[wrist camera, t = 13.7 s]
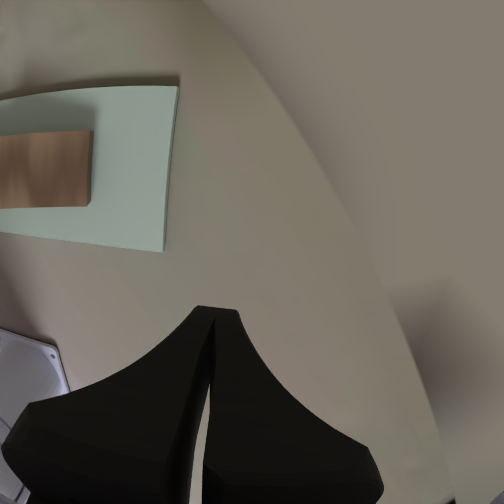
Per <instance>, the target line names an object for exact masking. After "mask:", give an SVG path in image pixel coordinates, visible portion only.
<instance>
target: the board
mask: <svg viewBox="0 0 504 504" xmlns="http://www.w3.org/2000/svg"><path fill="white" fill-rule="evenodd" d="M178 95H179V87H178V86H117V87H98V88H84V89H74V90H64V91H56V92H48V93H41V94H34V95H28V96H22V97H17V98H11V99H6V100H1V101H0V136H9V135H18V134H30V133H43V132H61V131H94V138H93V152H92V172H91V202H90V203H89V204H88V206H87V207H39V208H10V209H0V232H5V233H13V234H20V235H28V236H35V237H43V238H50V239H58V240H66V241H73V242H81V243H89V244H97V245H105V246H113V247H121V248H129V249H137V250H145V251H154V252H162V253H163V251H164V250H165V235H166V215H167V200H168V186H169V174H170V163H171V152H172V143H173V134H174V125H175V117H176V109H177V102H178Z"/></svg>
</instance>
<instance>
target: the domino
mask: <svg viewBox="0 0 504 504" xmlns="http://www.w3.org/2000/svg"><path fill="white" fill-rule="evenodd" d="M93 138H94V131H61V132H43V133H30V134H18V135H9V136H0V209H10V208H39V207H87V206H88V204H89V203H90V202H91V172H92V152H93Z"/></svg>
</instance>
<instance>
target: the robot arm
mask: <svg viewBox="0 0 504 504" xmlns="http://www.w3.org/2000/svg"><path fill="white" fill-rule="evenodd" d="M0 349H1V351H0V504H189V498H190V488H191V478H192V469H193V460H194V451H195V444H196V439H197V434H198V430H199V426H200V421H201V417H202V413H203V409H204V405H205V401H206V396H207V392H208V388H209V384H210V414H209V422H208V430H207V437H206V444H205V452H204V459H203V473H202V504H376V502H377V501H378V500H379V498H380V497H381V496H382V494H383V491H384V485H383V482H382V479H381V476H380V473H379V470H378V468H377V465H376V463H375V461H374V459H373V457H372V455H371V453H370V451H369V449H368V447H366V446H364V445H363V444H361V443H359V442H357V441H355V440H353V439H352V438H350V437H348V436H346V435H345V434H343V433H341V432H339V431H337V430H336V429H334V428H333V427H331V426H330V425H328V424H327V423H325V422H324V421H323V420H321V419H320V418H318V417H317V416H316V415H314V414H313V413H312V412H310V411H309V410H308V409H307V408H306V407H305V406H303V405H302V404H301V403H300V402H299V401H298V400H297V399H295V398H294V397H293V396H292V395H291V394H290V393H289V392H288V391H287V390H286V389H285V388H284V387H283V386H282V384H281V383H280V382H279V381H278V380H277V379H276V378H275V376H274V375H273V374H272V373H271V371H270V370H269V369H268V367H267V366H266V365H265V363H264V362H263V360H262V359H261V357H260V356H259V354H258V353H257V351H256V349H255V348H254V346H253V344H252V342H251V340H250V339H249V337H248V335H247V333H246V331H245V329H244V326H243V324H242V321H241V319H240V315H239V313H238V311H237V310H234V309H225V308H216V307H208V306H199V305H198V306H196V307H195V308H194V309H193V310H192V312H191V313H190V314H189V315H188V316H187V317H186V318H185V320H184V321H183V322H182V323H181V324H180V325H179V326H178V327H177V328H176V329H175V330H174V331H173V332H172V333H171V334H170V335H169V336H167V337H166V338H165V339H164V340H163V341H162V342H160V343H159V344H158V345H157V346H156V347H155V348H153V349H152V350H151V351H150V352H148V353H147V354H146V355H144V356H143V357H141V358H140V359H139V360H137V361H136V362H134V363H132V364H131V365H129V366H128V367H126V368H124V369H122V370H120V371H119V372H117V373H115V374H113V375H111V376H109V377H107V378H105V379H103V380H101V381H99V382H96V383H94V384H91V385H89V386H87V387H84V388H81V389H78V390H75V391H73V392H70V391H69V388H68V385H67V382H66V378H65V375H64V372H63V368H62V365H61V361H60V357H59V353H58V350H57V348H56V347H55V346H53V345H50V344H46V343H43V342H39V341H36V340H33V339H30V338H27V337H24V336H21V335H18V334H15V333H12V332H9V331H6V330H3V329H0ZM490 504H504V491H503V492H502V493H500V494H499V495H498V496H497V497H496V498H495V499H494V500H492V501H491V503H490Z"/></svg>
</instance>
